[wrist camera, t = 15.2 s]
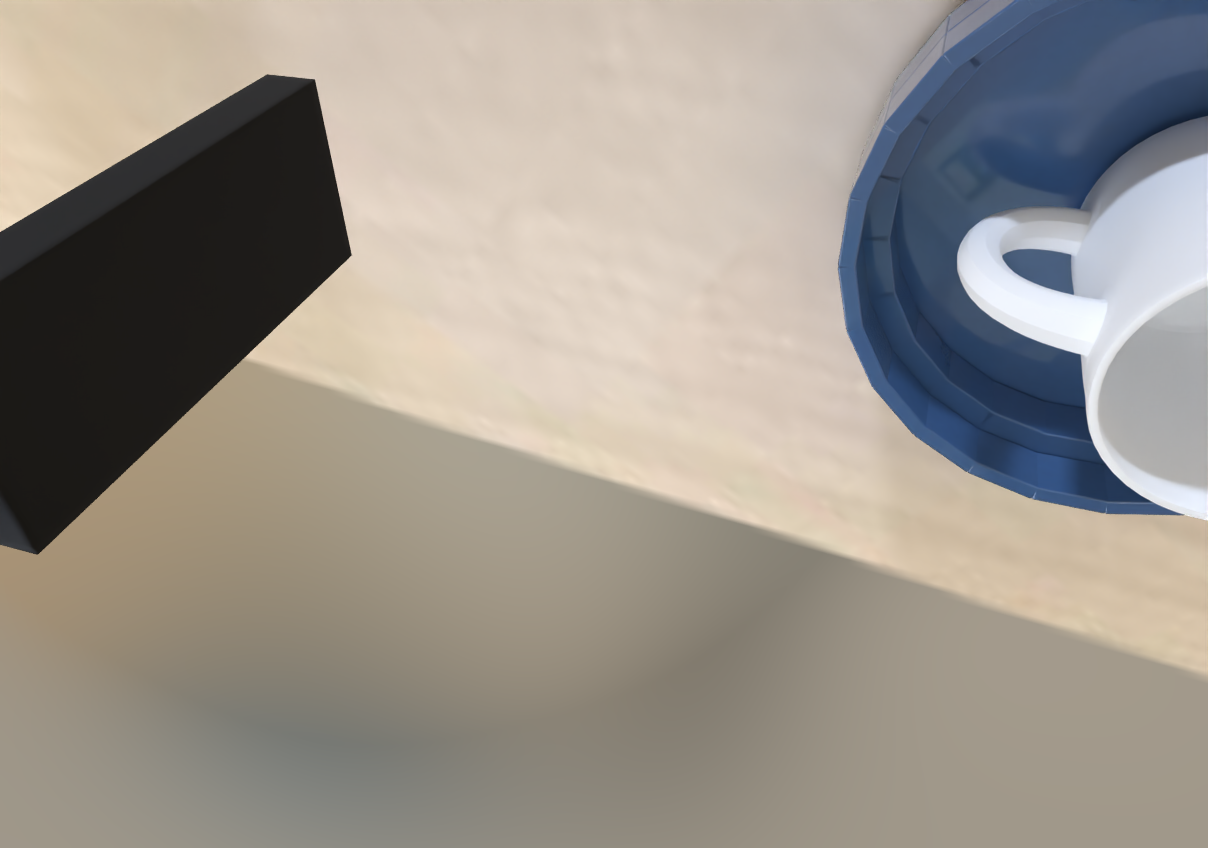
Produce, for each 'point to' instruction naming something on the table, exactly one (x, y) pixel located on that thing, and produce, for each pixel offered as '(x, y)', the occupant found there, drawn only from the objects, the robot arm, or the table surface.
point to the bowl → (991, 185)
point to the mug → (1123, 307)
